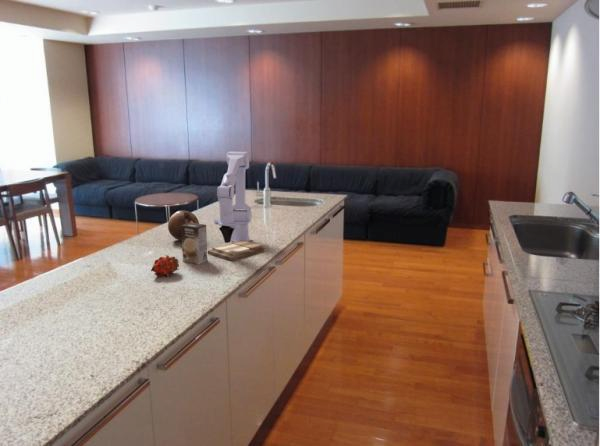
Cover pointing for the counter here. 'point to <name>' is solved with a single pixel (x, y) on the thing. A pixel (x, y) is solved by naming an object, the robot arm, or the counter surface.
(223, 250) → the oak plank
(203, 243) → the coffee box
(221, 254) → the board
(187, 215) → the wooden sphere
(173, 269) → the dragon fruit
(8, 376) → the counter surface
